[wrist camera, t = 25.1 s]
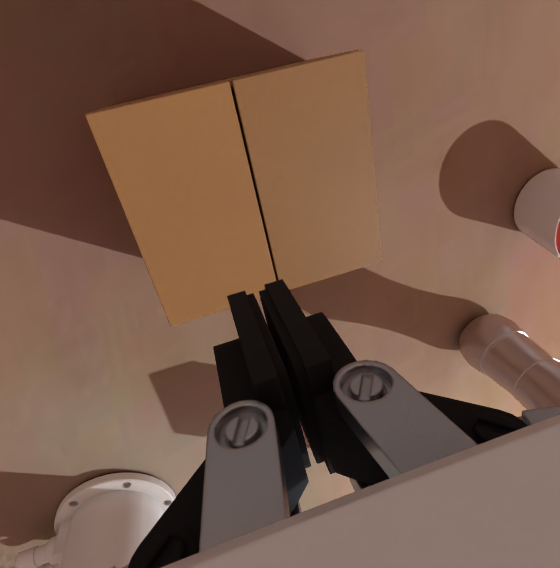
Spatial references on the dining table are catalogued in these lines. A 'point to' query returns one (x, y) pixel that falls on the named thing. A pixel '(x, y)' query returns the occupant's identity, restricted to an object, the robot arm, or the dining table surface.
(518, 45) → the dining table surface
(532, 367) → the silver metal bottle
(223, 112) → the flap
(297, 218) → the carton
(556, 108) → the dining table surface
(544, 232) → the white cup
